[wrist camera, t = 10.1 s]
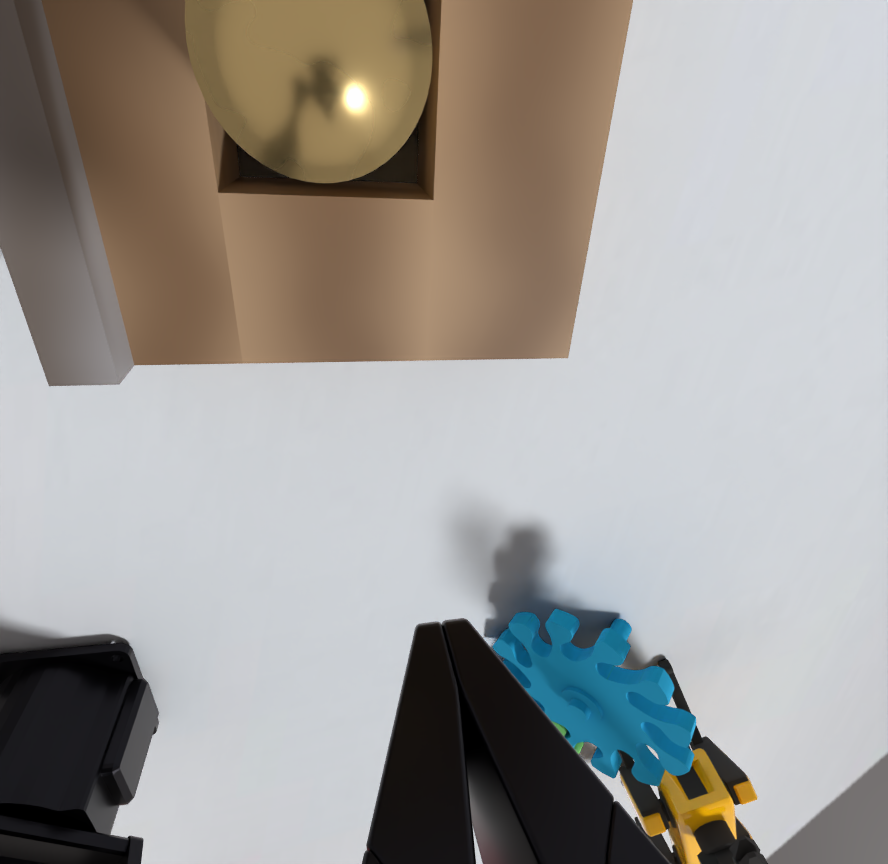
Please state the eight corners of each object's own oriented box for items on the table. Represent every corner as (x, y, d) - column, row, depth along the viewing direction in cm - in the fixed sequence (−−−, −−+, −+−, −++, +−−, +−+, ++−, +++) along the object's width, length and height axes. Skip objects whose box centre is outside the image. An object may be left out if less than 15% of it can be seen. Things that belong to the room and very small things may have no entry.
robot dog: (663, 584, 29) (873, 894, 18) (689, 746, 38) (835, 1013, 27) (562, 621, 29) (705, 952, 18) (613, 773, 39) (727, 1050, 27)
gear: (503, 591, 25) (730, 737, 20) (561, 518, 29) (761, 627, 24) (471, 707, 31) (637, 834, 27) (522, 634, 35) (673, 735, 31)
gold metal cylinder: (257, 153, 16) (205, 177, 10) (240, -26, 14) (162, -131, 8) (396, 160, 16) (427, 188, 10) (399, -8, 14) (438, -94, 8)
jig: (114, 321, 17) (49, 385, 13) (-73, -390, 10) (-330, -700, 6) (533, 320, 20) (582, 374, 16) (615, -259, 13) (742, -425, 9)
